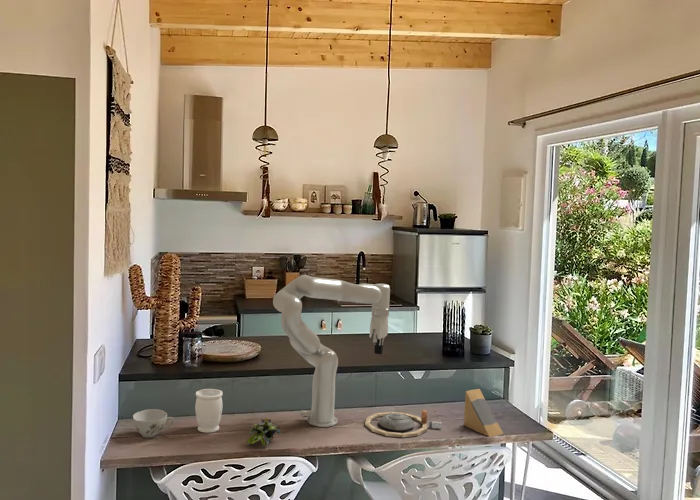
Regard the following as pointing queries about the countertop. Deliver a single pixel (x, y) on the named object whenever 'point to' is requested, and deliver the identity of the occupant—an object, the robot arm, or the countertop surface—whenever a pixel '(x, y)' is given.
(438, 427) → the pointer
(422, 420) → the turntable ring
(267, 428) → the green leafy cluster
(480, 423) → the sandwich container
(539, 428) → the countertop surface
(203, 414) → the jar
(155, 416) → the teacup
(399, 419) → the flying saucer
